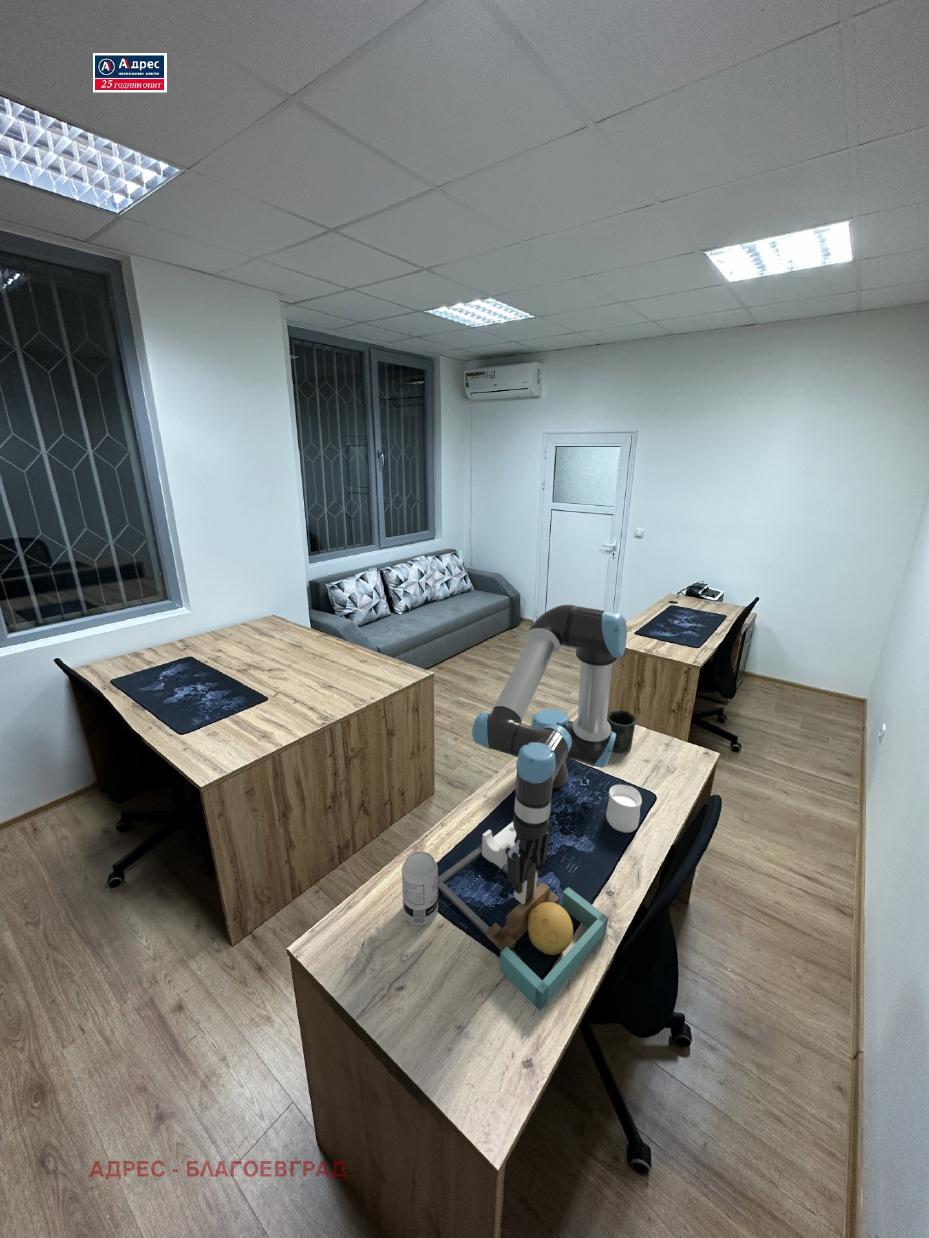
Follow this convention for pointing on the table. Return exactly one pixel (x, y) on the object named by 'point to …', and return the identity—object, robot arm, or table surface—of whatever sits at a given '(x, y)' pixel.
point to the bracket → (498, 845)
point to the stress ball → (550, 928)
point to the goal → (545, 989)
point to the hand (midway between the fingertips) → (524, 894)
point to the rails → (456, 899)
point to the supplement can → (420, 888)
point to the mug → (622, 729)
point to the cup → (623, 808)
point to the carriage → (521, 912)
